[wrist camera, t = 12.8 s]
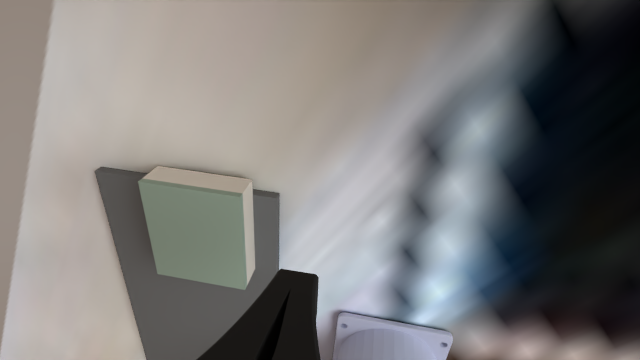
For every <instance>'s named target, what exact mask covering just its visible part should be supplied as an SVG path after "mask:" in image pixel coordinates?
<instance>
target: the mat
mask: <svg viewBox="0 0 640 360" xmlns="http://www.w3.org/2000/svg"><path fill="white" fill-rule="evenodd" d="M95 174H96V177H97V181H98V185H99V188H100V192H101V196H102V199H103V203H104V207H105V210H106V214H107V217H108V221H109V225H110V228H111V232H112V236H113V239H114V243H115V246H116V250H117V254H118V257H119V261H120V265H121V268H122V272H123V276H124V279H125V283H126V286H127V290H128V294H129V297H130V301H131V305H132V308H133V312H134V315H135V319H136V323H137V326H138V330H139V334H140V337H141V341H142V344H143V348H144V352H145V355H146V359H147V360H196V359H198V358H199V357H200V356H201V355H202V354H203V353H204V352H206V351H207V350H208V349H209V348H210V347H211V346H212V345H213V344H214V343H216V342H217V341H218V340H219V339H220V338H221V337H222V336H223V335H224V334H225V333H226V332H227V331H228V330H229V329H230V328H231V327H232V326H233V325H234V324H235V323H236V322H237V321H238V319H239V318H240V317H241V316H242V315H243V314H244V313H245V312H246V311H247V310H248V308H249V307H250V306H251V305H252V304H253V303H254V302H255V300H256V299H257V298H258V297H259V296H260V294H261V293H262V292H263V291H264V289H265V288H266V287H267V286H268V284H269V283H270V282H271V280H272V279H273V278H274V276H275V275H276V273H277V272H278V271H279V193H274V192H267V191H260V190H254V189H253V216H254V245H255V270H254V272H253V274H252V276H251V279H250V281H249V283H248V285H247V287H246V289H245V290H243V289H237V288H232V287H226V286H221V285H215V284H210V283H204V282H199V281H193V280H188V279H182V278H177V277H172V276H166V275H161V274H157V269H156V264H155V259H154V255H153V250H152V245H151V241H150V236H149V231H148V227H147V222H146V217H145V213H144V208H143V203H142V199H141V194H140V189H139V184H138V181H140V180H141V179H142V178H143V177H145V176H146V175H147V174H146V173H139V172H132V171H125V170H119V169H112V168H105V167H100V168H99V169H97V170H96V171H95Z"/></svg>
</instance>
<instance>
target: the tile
mask: <svg viewBox="0 0 640 360" xmlns="http://www.w3.org/2000/svg"><path fill="white" fill-rule="evenodd" d="M138 184H139V189H140V194H141V199H142V203H143V208H144V213H145V217H146V222H147V227H148V231H149V236H150V241H151V245H152V250H153V255H154V259H155V264H156V269H157V274H161V275H166V276H172V277H177V278H182V279H188V280H193V281H199V282H204V283H210V284H215V285H221V286H226V287H232V288H237V289H243V290H245V289H246V287H247V285H248V283H249V281H250V279H251V276H252V274H253V272H254V270H255V245H254V216H253V188H252V179H245V178H238V177H231V176H224V175H217V174H210V173H203V172H196V171H189V170H182V169H175V168H168V167H161V166H157V167H156V168H155V169H153V170H152V171H151V172H150V173H148V174H147V175H146V176H145V177H143V178H142V179H141V180H140V181H138Z"/></svg>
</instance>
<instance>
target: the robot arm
mask: <svg viewBox="0 0 640 360" xmlns="http://www.w3.org/2000/svg"><path fill="white" fill-rule="evenodd" d="M318 278H319V277H318V276H317V275H316V274H310V273H303V272H297V271H291V270H284V269H280V270H279V271H278V272H277V273H276V275H275V276H274V278H273V279H272V280H271V282H270V283H269V284H268V286H267V287H266V288H265V289H264V291H263V292H262V293H261V294H260V296H259V297H258V298H257V299H256V300H255V302H254V303H253V304H252V305H251V306H250V307H249V308H248V310H247V311H246V312H245V313H244V314H243V315H242V316H241V317H240V318H239V319H238V321H237V322H236V323H235V324H234V325H233V326H232V327H231V328H230V329H229V330H228V331H227V332H226V333H225V334H224V335H223V336H222V337H221V338H220V339H219V340H218V341H217V342H216V343H214V344H213V345H212V346H211V347H210V348H209V349H208V350H207V351H206V352H204V353H203V354H202V355H201V356H200V357H199V358H198V359H196V360H320V354H319V347H318V339H317V330H316V315H317V298H318ZM343 323H344V324H343ZM442 342H444V343H442ZM452 342H453V337H452V334H451V333H450V332H447V331H443V330H438V329H432V328H427V327H421V326H416V325H410V324H405V323H400V322H394V321H389V320H383V319H378V318H373V317H367V316H362V315H356V314H351V313H345V312H343V313H340V314H339V315H338V320H337V327H336V335H335V343H334V351H333V359H332V360H446V358H447V355H448V352H449V350H450V347H451V344H452Z"/></svg>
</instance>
